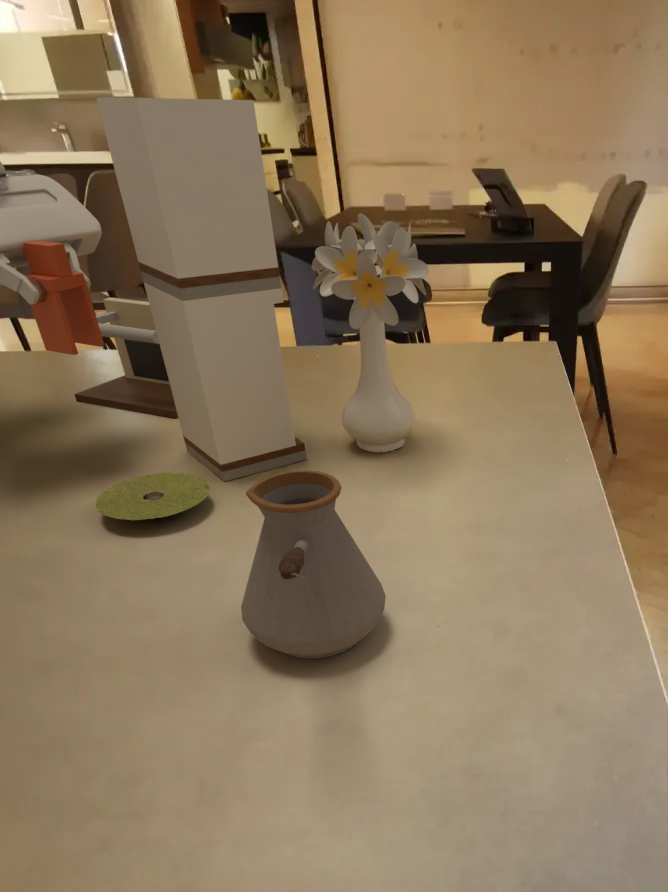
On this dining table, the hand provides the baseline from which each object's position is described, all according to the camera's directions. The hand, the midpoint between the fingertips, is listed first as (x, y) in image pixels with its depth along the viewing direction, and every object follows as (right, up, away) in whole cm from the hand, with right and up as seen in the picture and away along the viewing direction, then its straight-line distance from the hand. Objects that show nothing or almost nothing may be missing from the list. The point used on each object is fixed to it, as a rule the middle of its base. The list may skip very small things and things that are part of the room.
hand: (62, 294), depth 72 cm
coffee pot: (+31, -38, -18) cm, 52 cm away
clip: (-1, -4, +3) cm, 5 cm away
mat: (+9, -22, +3) cm, 24 cm away
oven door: (-5, 0, +31) cm, 31 cm away
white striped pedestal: (+14, -13, +15) cm, 24 cm away
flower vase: (+31, -11, +18) cm, 37 cm away
